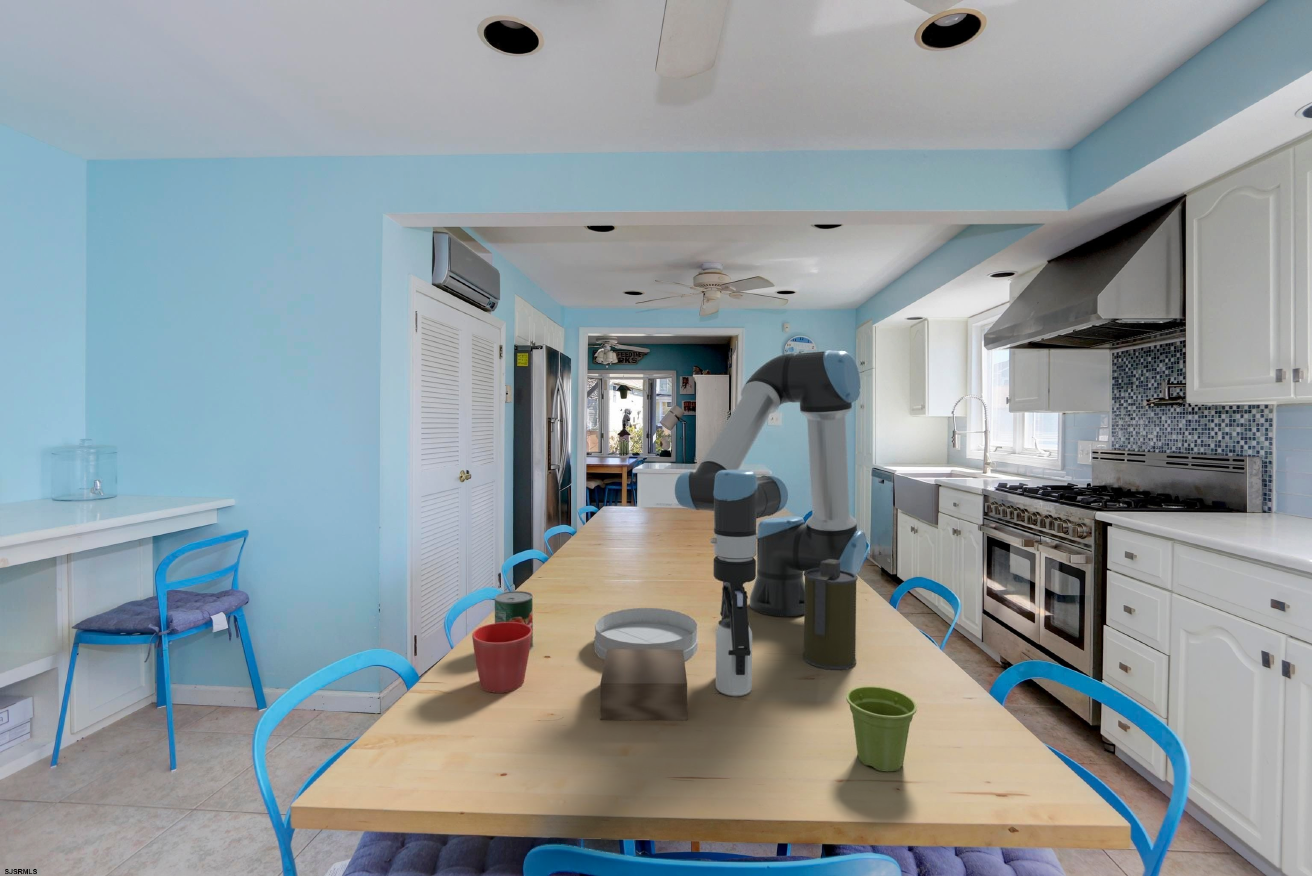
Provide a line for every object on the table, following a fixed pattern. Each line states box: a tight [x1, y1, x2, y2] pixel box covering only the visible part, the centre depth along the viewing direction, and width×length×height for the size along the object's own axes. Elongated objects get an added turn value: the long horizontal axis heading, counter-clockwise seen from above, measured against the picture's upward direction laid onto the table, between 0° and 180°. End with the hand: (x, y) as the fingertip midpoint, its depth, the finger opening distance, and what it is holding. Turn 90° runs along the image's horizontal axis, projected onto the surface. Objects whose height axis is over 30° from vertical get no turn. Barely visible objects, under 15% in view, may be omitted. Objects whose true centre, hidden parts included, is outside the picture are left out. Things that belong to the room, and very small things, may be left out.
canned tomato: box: [494, 590, 534, 650], centre depth 125 cm, size 8×8×11 cm
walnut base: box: [599, 649, 688, 721], centre depth 103 cm, size 14×14×6 cm
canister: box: [802, 559, 858, 671], centre depth 120 cm, size 11×10×20 cm
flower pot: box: [471, 622, 532, 694], centre depth 108 cm, size 11×11×10 cm
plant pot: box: [845, 685, 918, 772], centre depth 85 cm, size 9×9×9 cm
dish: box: [593, 607, 699, 662], centre depth 127 cm, size 22×22×5 cm
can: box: [715, 618, 753, 697], centre depth 107 cm, size 6×6×12 cm
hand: (733, 674), depth 107 cm, fingers open, 13 cm apart
